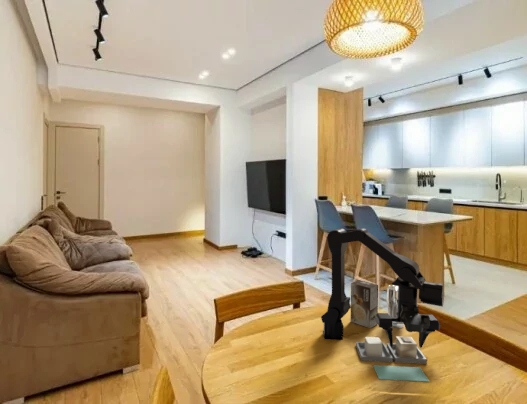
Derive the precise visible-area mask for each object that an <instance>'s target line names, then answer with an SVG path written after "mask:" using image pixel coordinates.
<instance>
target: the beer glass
mask: <svg viewBox="0 0 527 404" xmlns="http://www.w3.org/2000/svg"><path fill="white" fill-rule="evenodd" d="M397 300H398V286H396V285H388V286H387V290H386V306H387V311H388V314H389V316H390V317H397V312H398V303H397ZM404 327H405V325H404V324H395V323H392V329H402V328H404Z"/></svg>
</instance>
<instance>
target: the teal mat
mask: <svg viewBox="0 0 527 404" xmlns="http://www.w3.org/2000/svg"><path fill="white" fill-rule="evenodd" d="M372 367H373V369H374V371H375V373H376V376H377V378H378V380H385V381H402V382H403V381H404V382H424V383H425V382H426V383H430V380H429V378H428V377H427V375H426V374H425V373H424V371H423V369H422V368H421V367H420V366H419V367H418V366H398V365H377V364H376V365H374V364H373V366H372Z"/></svg>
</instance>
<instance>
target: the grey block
mask: <svg viewBox="0 0 527 404" xmlns="http://www.w3.org/2000/svg"><path fill="white" fill-rule="evenodd" d="M364 342H365V351H366V354H367V356H382V343H383V342H382V340H381V339H380V337H377V336H376V337H375V336H364Z"/></svg>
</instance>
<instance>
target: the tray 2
mask: <svg viewBox="0 0 527 404" xmlns="http://www.w3.org/2000/svg"><path fill="white" fill-rule="evenodd" d="M386 347H387V349H388V350H389V352H390V354H391V356H392V357H393V362H394V363H396V364H397V363H400V364H403V363H404V364H424V365H427V363H428V359H427V358H426V356H425V355H424V353H423V352H422V351H421V350H420V349H421V348H420V347H418V346H417V358H407V357H399V356H398V354H397V352H396V342H395V343H393V346H392V347H391V345H390V342H386Z"/></svg>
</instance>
